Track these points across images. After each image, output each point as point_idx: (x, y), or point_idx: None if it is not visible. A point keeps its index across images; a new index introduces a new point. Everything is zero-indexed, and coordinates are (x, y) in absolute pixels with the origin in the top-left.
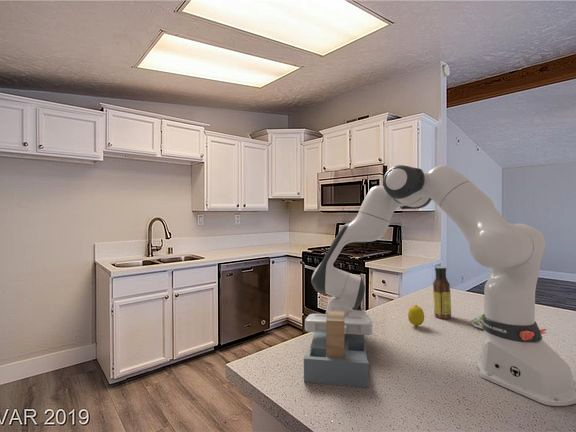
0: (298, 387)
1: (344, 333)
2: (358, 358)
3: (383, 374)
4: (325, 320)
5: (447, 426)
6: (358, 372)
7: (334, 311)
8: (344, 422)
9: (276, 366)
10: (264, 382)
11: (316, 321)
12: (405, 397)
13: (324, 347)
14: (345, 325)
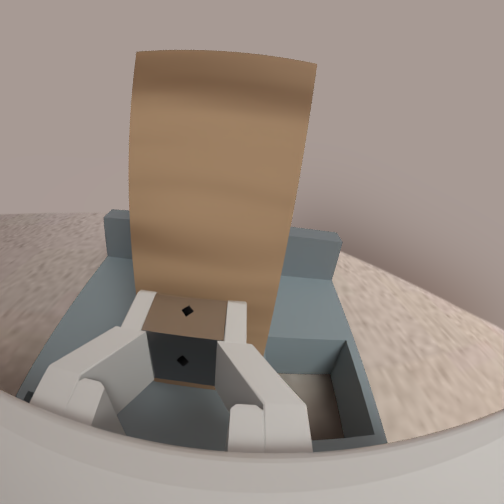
0: None
1: (137, 255)
2: (93, 330)
3: (35, 328)
4: (411, 477)
5: (55, 213)
6: None
7: (243, 56)
8: None
9: (439, 361)
10: (409, 295)
11: (494, 415)
12: (58, 252)
13: None
14: (42, 398)
